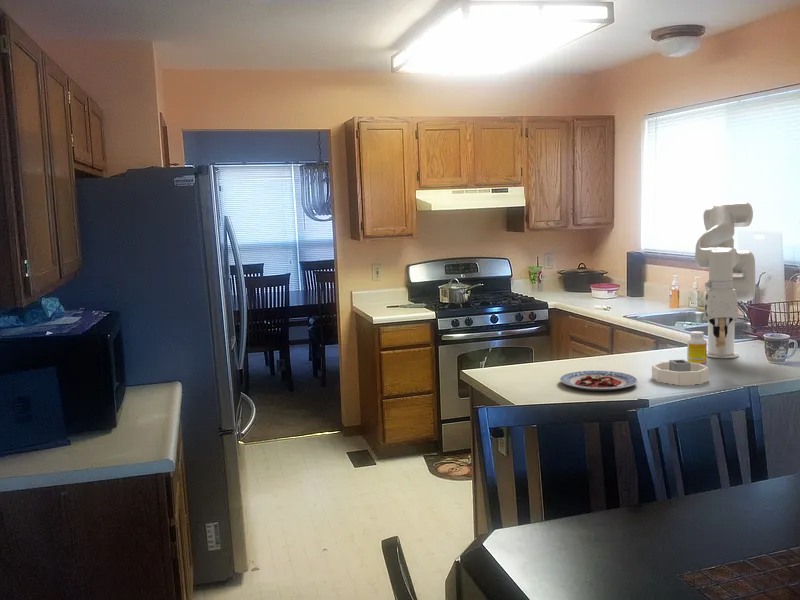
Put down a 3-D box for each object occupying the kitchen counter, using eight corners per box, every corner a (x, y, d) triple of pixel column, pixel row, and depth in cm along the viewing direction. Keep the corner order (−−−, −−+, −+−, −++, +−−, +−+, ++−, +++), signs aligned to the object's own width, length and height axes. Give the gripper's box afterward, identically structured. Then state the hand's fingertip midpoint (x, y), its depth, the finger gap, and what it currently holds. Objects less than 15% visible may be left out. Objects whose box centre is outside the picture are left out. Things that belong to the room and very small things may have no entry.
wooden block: (715, 346, 240) (715, 313, 239) (721, 346, 240) (720, 313, 239) (719, 348, 237) (718, 314, 236) (725, 347, 237) (724, 314, 236)
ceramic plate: (636, 396, 216) (636, 387, 216) (555, 392, 226) (555, 384, 225) (638, 377, 240) (638, 369, 240) (565, 375, 249) (565, 367, 249)
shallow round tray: (647, 374, 244) (646, 357, 243) (694, 372, 243) (694, 355, 242) (664, 386, 227) (663, 367, 226) (715, 384, 226) (715, 365, 225)
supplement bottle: (708, 367, 250) (708, 333, 249) (689, 367, 252) (689, 333, 250) (704, 363, 257) (704, 330, 255) (685, 363, 258) (685, 330, 257)
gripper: (702, 287, 232) (702, 340, 235) (748, 285, 232) (747, 337, 234) (693, 285, 240) (693, 335, 242) (738, 282, 239) (737, 333, 242)
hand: (720, 336), depth 238 cm, fingers closed on wooden block, 1 cm apart
